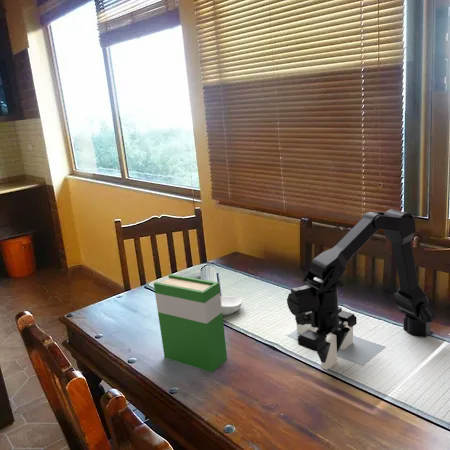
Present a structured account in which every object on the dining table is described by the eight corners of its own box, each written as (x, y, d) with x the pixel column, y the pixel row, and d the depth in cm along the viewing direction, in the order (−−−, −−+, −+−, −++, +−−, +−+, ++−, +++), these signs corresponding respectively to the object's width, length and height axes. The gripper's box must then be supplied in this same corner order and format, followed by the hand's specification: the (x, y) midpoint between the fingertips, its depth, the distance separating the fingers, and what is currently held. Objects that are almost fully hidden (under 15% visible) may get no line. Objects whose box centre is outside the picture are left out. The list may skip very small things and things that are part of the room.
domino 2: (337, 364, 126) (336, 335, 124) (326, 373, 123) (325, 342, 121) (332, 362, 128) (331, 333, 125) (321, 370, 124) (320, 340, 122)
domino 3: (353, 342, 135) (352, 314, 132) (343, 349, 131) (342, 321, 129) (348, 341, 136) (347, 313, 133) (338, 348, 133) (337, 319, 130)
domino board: (385, 349, 131) (385, 346, 131) (362, 368, 124) (362, 365, 123) (311, 323, 150) (310, 320, 150) (287, 338, 142) (286, 335, 142)
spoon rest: (225, 301, 173) (223, 283, 171) (249, 308, 166) (248, 290, 164) (179, 328, 156) (176, 308, 155) (204, 337, 149) (201, 316, 147)
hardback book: (164, 357, 139) (153, 283, 132) (180, 345, 144) (170, 274, 138) (212, 372, 129) (203, 292, 122) (227, 359, 134) (219, 282, 128)
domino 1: (311, 327, 145) (309, 301, 143) (301, 334, 142) (299, 307, 140) (307, 326, 147) (305, 300, 144) (297, 332, 143) (295, 305, 141)
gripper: (322, 285, 132) (324, 334, 136) (279, 309, 120) (283, 362, 124) (357, 295, 124) (358, 347, 128) (314, 321, 112) (317, 378, 116)
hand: (329, 357), depth 125 cm, fingers closed on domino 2, 5 cm apart
